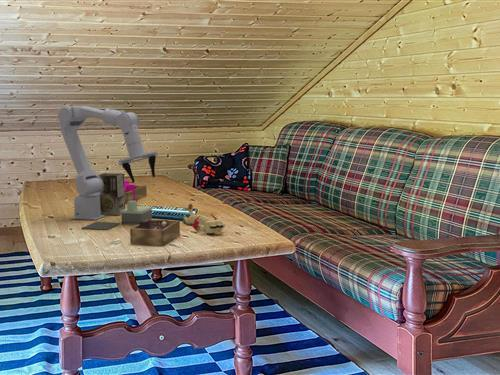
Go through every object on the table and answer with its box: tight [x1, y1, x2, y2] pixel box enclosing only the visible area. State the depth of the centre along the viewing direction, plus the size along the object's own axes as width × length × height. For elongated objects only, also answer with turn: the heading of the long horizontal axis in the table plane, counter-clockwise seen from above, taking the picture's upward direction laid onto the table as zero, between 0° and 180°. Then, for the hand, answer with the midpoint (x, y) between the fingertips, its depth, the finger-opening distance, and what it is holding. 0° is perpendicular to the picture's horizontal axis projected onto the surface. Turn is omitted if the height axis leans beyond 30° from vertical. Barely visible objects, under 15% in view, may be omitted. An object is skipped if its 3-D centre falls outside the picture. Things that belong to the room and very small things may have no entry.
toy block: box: [124, 179, 135, 201], centre depth 281 cm, size 15×6×8 cm, turn 22°
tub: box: [120, 209, 153, 225], centre depth 234 cm, size 8×10×4 cm
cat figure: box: [182, 203, 226, 235], centre depth 219 cm, size 10×9×25 cm
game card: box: [139, 221, 167, 230], centre depth 204 cm, size 7×5×9 cm
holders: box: [125, 184, 181, 247], centre depth 244 cm, size 21×104×5 cm, turn 17°
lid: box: [120, 200, 154, 214], centre depth 233 cm, size 9×11×5 cm
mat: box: [81, 221, 122, 231], centre depth 225 cm, size 10×11×1 cm
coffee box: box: [98, 172, 126, 216], centre depth 248 cm, size 9×6×16 cm
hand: (143, 179), depth 228 cm, fingers open, 7 cm apart
